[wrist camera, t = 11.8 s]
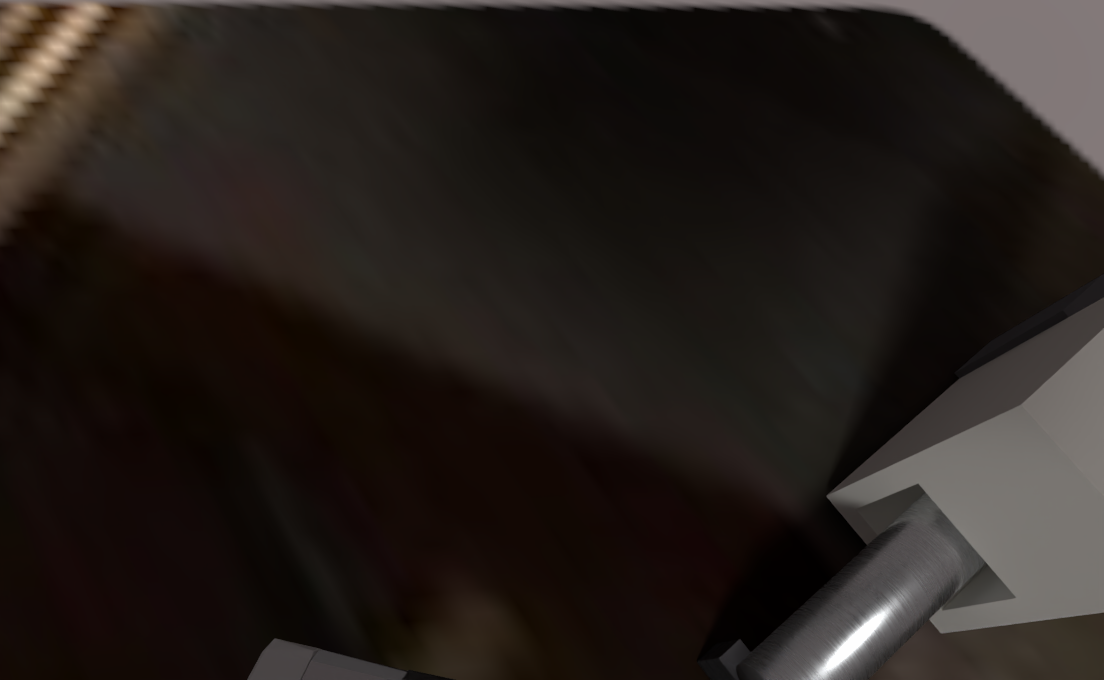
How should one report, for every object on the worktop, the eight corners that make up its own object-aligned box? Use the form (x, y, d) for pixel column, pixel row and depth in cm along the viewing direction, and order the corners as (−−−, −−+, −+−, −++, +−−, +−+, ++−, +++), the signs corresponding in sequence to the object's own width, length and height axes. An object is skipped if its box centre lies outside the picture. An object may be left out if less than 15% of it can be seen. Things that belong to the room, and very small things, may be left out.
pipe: (775, 762, 35) (891, 778, 27) (684, 645, 36) (770, 628, 28) (1151, 392, 43) (1326, 321, 35) (1068, 302, 44) (1220, 214, 36)
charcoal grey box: (1075, 509, 40) (1211, 471, 33) (954, 372, 41) (1062, 310, 35) (1111, 473, 41) (1251, 429, 34) (991, 340, 42) (1103, 273, 35)
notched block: (941, 633, 37) (1196, 600, 26) (825, 496, 38) (1021, 404, 27) (1070, 503, 40) (1354, 420, 28) (959, 378, 41) (1189, 249, 29)
